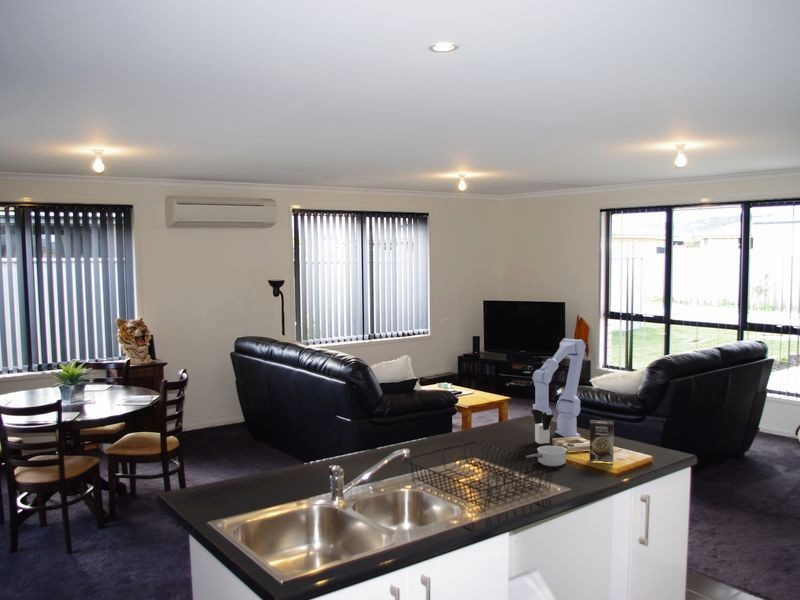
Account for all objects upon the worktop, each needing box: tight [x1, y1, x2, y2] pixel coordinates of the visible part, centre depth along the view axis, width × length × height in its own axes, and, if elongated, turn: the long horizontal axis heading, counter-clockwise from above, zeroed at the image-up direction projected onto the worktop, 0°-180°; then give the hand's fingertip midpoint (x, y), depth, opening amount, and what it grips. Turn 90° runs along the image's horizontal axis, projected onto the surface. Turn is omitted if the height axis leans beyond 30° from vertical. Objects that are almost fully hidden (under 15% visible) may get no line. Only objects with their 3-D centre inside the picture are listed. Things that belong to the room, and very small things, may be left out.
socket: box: [551, 435, 590, 451], centre depth 288 cm, size 15×13×3 cm
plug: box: [534, 422, 553, 445], centre depth 298 cm, size 4×7×8 cm, turn 104°
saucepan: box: [525, 445, 567, 467], centre depth 264 cm, size 12×20×6 cm, turn 125°
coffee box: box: [589, 419, 615, 463], centre depth 267 cm, size 9×6×16 cm
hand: (542, 427), depth 297 cm, fingers open, 7 cm apart
